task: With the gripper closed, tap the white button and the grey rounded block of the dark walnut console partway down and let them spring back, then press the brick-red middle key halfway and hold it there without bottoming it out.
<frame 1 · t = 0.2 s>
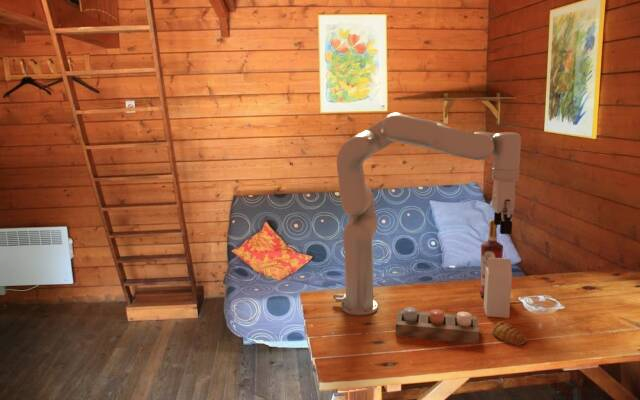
hand: (502, 229, 147), 31 cm above the table, fingers open, 9 cm apart
pastry: (508, 338, 144), on the table
brick key: (436, 318, 147), point 5 cm above the table, slide at 0.0 cm
white button: (464, 320, 145), point 5 cm above the table, slide at 0.0 cm
console: (436, 331, 148), on the table
liquor: (489, 296, 172), on the table
grey rounded block: (410, 316, 149), point 5 cm above the table, slide at 0.0 cm
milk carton: (495, 313, 159), on the table
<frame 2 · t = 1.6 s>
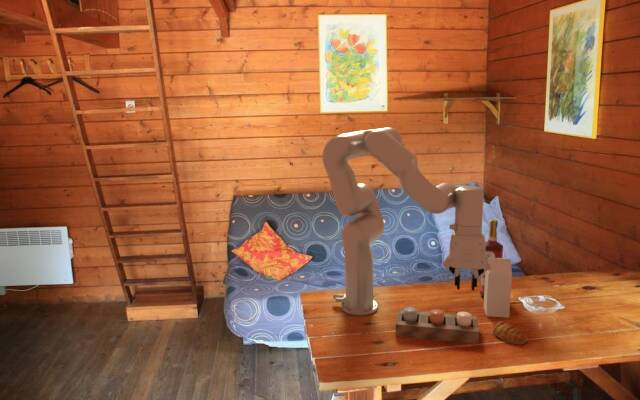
hand: (465, 287, 142), 15 cm above the table, fingers open, 3 cm apart
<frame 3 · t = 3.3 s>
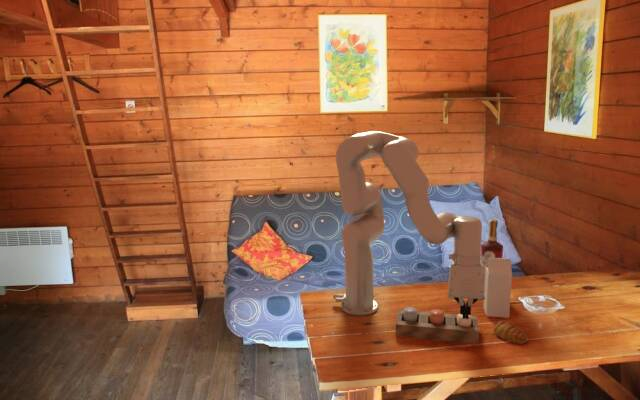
hand: (465, 316, 144), 6 cm above the table, fingers closed
white button: (463, 322, 145), point 4 cm above the table, slide at 0.5 cm, touching gripper
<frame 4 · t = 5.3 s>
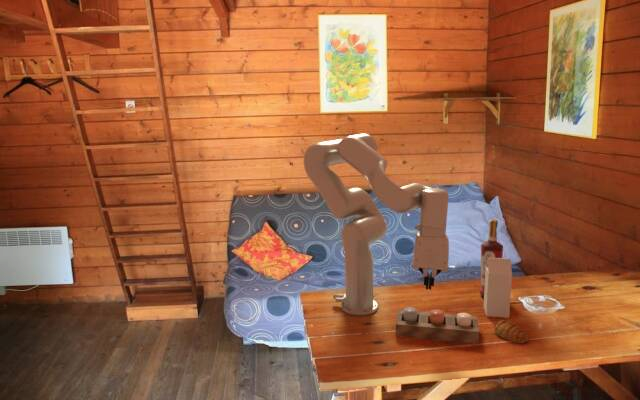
hand: (428, 287, 146), 14 cm above the table, fingers closed
white button: (463, 321, 145), point 4 cm above the table, slide at 0.4 cm
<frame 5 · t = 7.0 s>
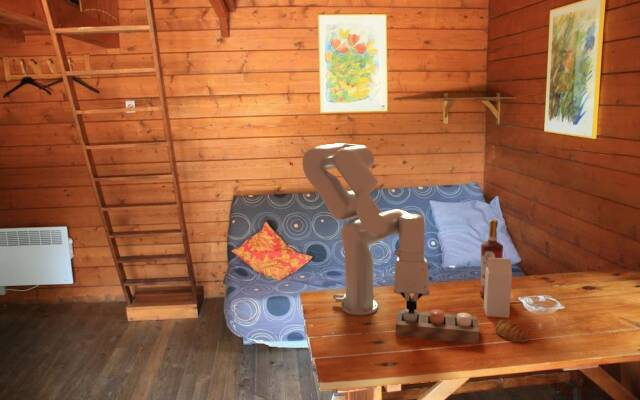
hand: (411, 311, 148), 6 cm above the table, fingers closed
grey rounded block: (410, 317, 149), point 4 cm above the table, slide at 0.3 cm, touching gripper
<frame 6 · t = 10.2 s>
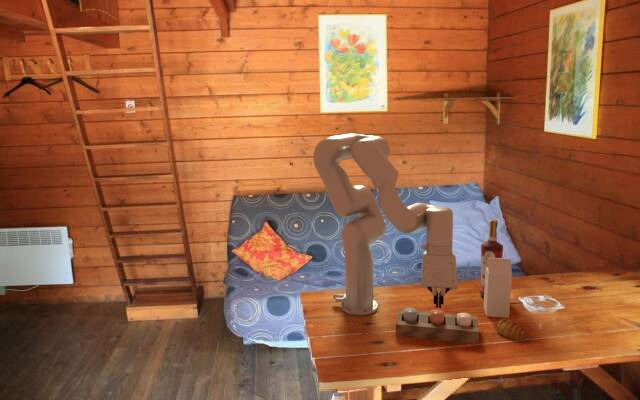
hand: (438, 306, 145), 9 cm above the table, fingers closed
grey rounded block: (410, 316, 149), point 4 cm above the table, slide at 0.2 cm
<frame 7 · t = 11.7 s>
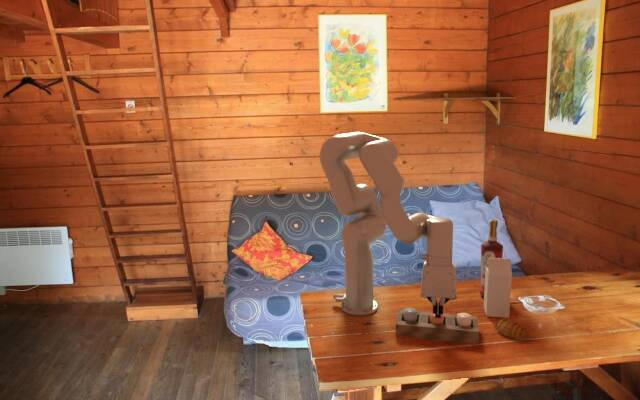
hand: (437, 315, 146), 6 cm above the table, fingers closed
brick key: (436, 321, 147), point 3 cm above the table, slide at 1.0 cm, touching gripper
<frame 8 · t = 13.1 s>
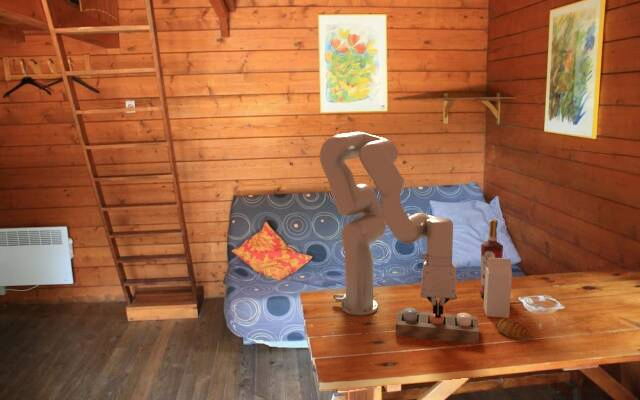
hand: (437, 315, 146), 6 cm above the table, fingers closed
at the end: brick key slide at 1.0 cm; white button slide at 0.4 cm; grey rounded block slide at 0.2 cm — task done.
